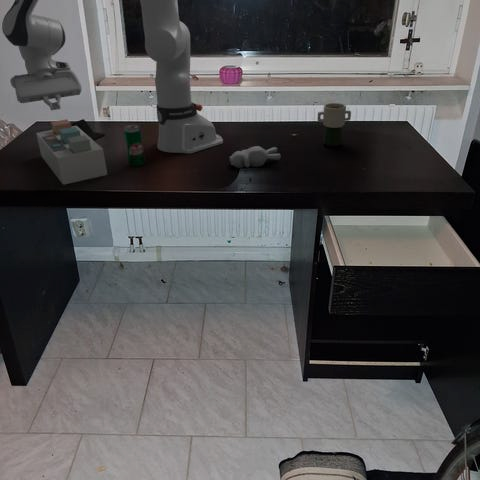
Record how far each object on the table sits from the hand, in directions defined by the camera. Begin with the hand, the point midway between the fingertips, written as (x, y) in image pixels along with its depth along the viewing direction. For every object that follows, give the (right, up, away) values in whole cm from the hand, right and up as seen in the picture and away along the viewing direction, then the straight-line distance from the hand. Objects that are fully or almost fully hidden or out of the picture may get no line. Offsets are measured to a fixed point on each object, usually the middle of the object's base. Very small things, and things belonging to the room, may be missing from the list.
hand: (55, 108), depth 158 cm
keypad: (+7, -19, -4) cm, 20 cm away
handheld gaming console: (+4, -6, +19) cm, 20 cm away
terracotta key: (+2, -9, +1) cm, 9 cm away
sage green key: (+13, -17, -14) cm, 26 cm away
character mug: (+90, -10, +7) cm, 91 cm away
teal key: (+7, -13, -7) cm, 16 cm away
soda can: (+27, -19, -5) cm, 33 cm away
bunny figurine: (+64, -19, -7) cm, 67 cm away
